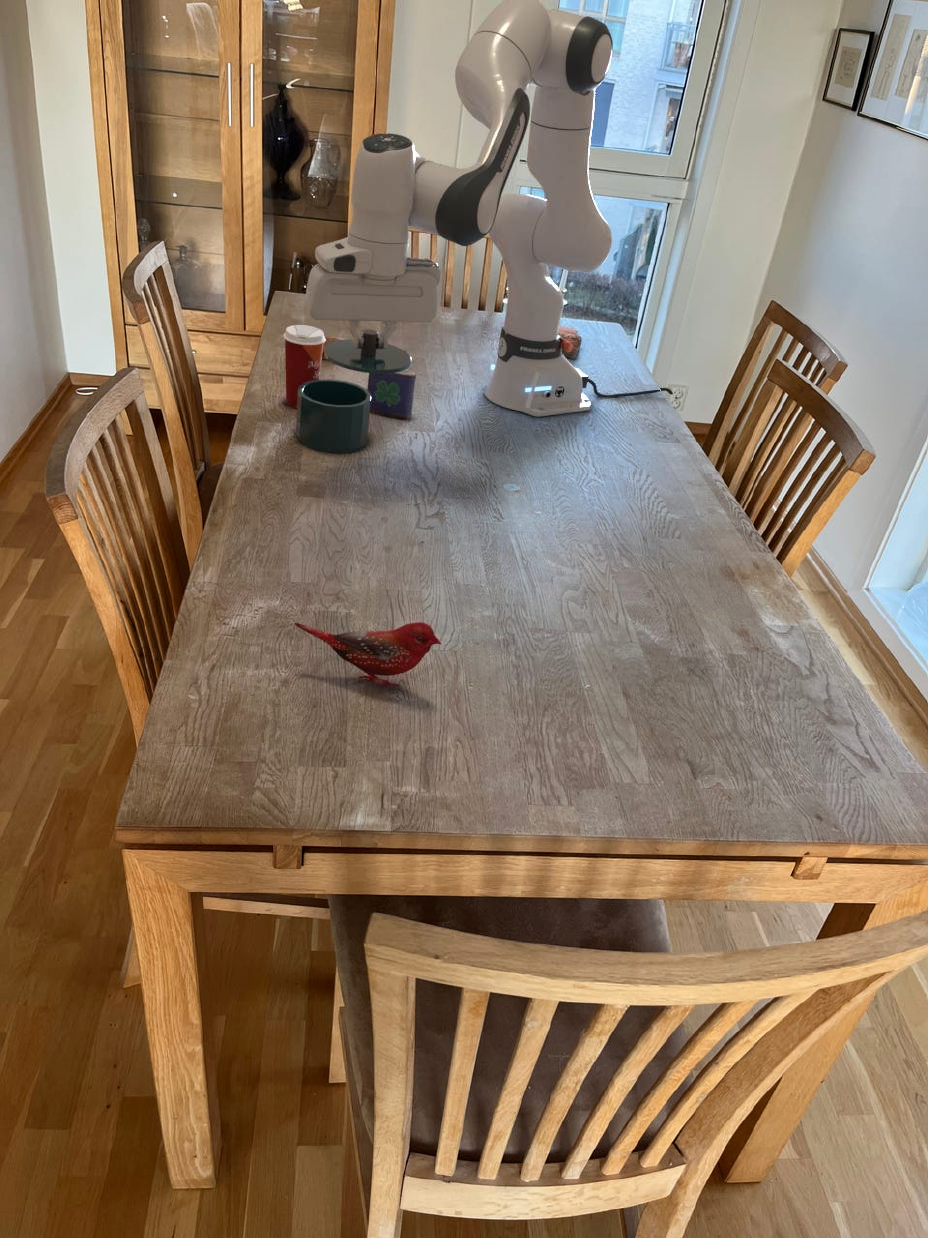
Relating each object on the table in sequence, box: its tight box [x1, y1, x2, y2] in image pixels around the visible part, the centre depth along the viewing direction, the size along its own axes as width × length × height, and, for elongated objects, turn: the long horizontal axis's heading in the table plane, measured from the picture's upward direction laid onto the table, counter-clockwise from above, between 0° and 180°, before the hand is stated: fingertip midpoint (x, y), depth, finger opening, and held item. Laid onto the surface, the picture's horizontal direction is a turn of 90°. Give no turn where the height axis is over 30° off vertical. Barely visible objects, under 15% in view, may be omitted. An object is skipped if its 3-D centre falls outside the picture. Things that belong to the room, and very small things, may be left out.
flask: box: [366, 369, 417, 421], centre depth 186 cm, size 9×3×11 cm, turn 74°
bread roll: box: [322, 335, 345, 360], centre depth 211 cm, size 11×8×4 cm
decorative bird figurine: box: [293, 621, 442, 687], centre depth 116 cm, size 3×18×10 cm, turn 80°
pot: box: [295, 378, 372, 454], centre depth 173 cm, size 13×13×8 cm
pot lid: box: [324, 328, 413, 374], centre depth 152 cm, size 14×14×5 cm
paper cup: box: [283, 324, 326, 409], centre depth 183 cm, size 8×8×14 cm
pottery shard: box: [558, 325, 583, 359], centre depth 237 cm, size 16×16×4 cm
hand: (368, 347), depth 152 cm, fingers closed on pot lid, 2 cm apart
